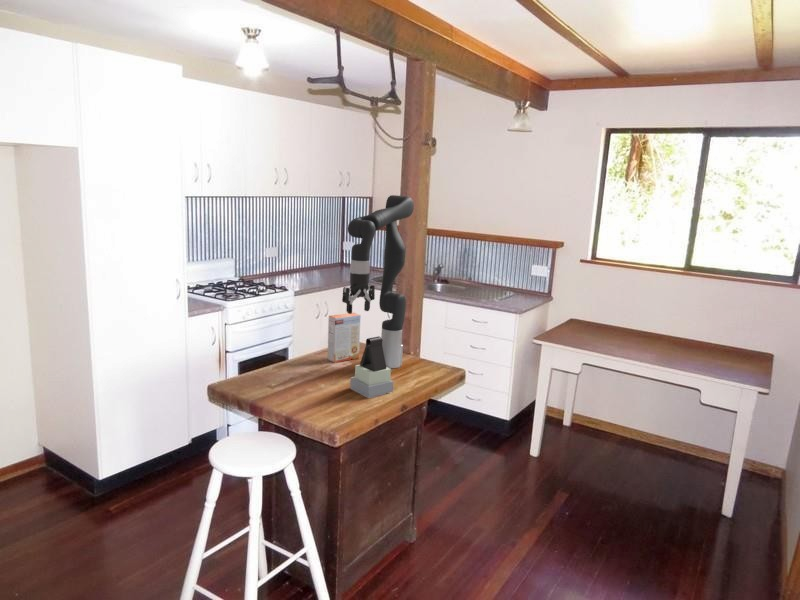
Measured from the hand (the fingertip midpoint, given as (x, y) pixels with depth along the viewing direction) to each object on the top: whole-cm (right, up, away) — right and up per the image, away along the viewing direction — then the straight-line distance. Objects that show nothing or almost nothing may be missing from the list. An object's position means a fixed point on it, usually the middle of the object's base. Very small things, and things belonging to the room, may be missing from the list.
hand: (358, 312), depth 218 cm
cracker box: (-10, -23, +36) cm, 44 cm away
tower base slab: (+5, -31, 0) cm, 32 cm away
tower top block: (+6, -26, -1) cm, 27 cm away
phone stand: (+6, -22, -2) cm, 23 cm away
